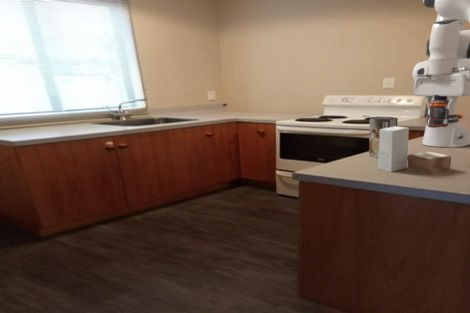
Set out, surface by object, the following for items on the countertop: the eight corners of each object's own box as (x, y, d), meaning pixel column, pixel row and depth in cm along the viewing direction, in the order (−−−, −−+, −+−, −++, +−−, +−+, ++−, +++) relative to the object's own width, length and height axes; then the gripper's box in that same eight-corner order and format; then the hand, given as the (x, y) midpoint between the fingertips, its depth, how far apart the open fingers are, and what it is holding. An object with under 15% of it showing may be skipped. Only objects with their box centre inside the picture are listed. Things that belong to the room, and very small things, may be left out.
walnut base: (427, 165, 120) (428, 151, 118) (450, 170, 111) (451, 155, 110) (407, 168, 117) (408, 153, 116) (429, 174, 109) (430, 158, 108)
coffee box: (397, 156, 136) (398, 117, 133) (389, 159, 132) (390, 119, 129) (376, 153, 143) (377, 116, 140) (368, 156, 140) (369, 118, 136)
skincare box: (393, 165, 122) (395, 125, 119) (408, 168, 117) (410, 127, 114) (377, 169, 119) (378, 128, 116) (391, 172, 113) (393, 129, 110)
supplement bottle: (451, 127, 115) (453, 94, 112) (432, 127, 116) (434, 95, 113) (444, 125, 120) (446, 93, 118) (426, 125, 121) (428, 94, 119)
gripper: (478, 66, 105) (474, 109, 108) (425, 70, 124) (423, 107, 127) (463, 67, 103) (460, 111, 106) (411, 71, 122) (410, 108, 125)
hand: (439, 109), depth 117 cm, fingers closed on supplement bottle, 6 cm apart
